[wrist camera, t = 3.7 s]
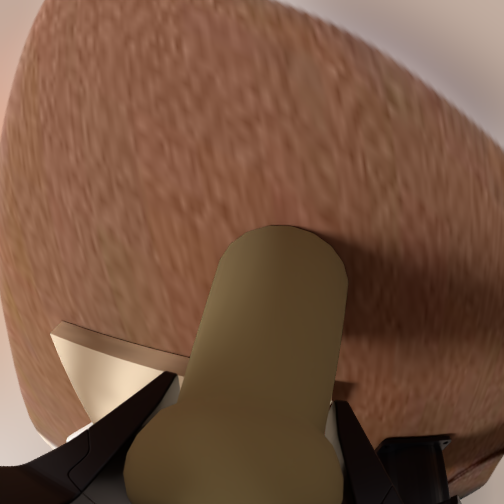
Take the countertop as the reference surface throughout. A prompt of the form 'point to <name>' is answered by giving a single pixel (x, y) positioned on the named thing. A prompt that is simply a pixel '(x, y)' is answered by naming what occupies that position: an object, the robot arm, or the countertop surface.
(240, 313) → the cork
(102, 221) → the countertop surface
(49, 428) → the countertop surface
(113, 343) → the birch board
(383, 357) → the countertop surface
